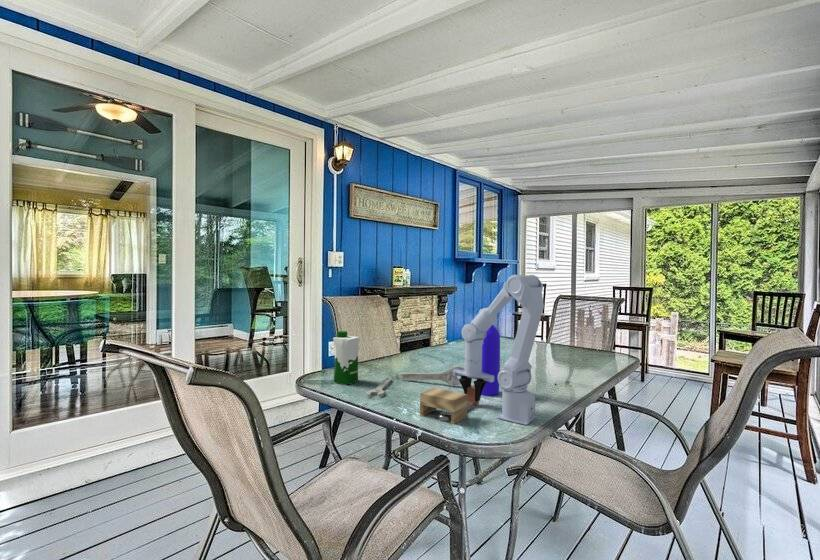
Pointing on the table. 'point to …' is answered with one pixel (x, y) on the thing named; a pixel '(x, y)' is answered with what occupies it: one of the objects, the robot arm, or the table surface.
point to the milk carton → (346, 358)
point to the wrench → (433, 376)
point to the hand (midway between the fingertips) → (472, 399)
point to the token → (445, 417)
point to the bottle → (491, 360)
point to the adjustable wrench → (379, 389)
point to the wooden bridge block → (444, 403)
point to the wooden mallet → (470, 398)
